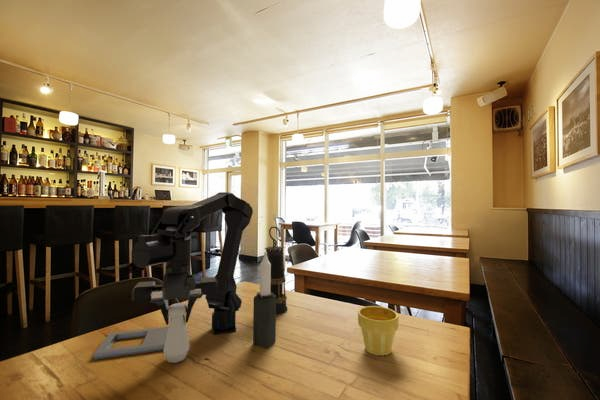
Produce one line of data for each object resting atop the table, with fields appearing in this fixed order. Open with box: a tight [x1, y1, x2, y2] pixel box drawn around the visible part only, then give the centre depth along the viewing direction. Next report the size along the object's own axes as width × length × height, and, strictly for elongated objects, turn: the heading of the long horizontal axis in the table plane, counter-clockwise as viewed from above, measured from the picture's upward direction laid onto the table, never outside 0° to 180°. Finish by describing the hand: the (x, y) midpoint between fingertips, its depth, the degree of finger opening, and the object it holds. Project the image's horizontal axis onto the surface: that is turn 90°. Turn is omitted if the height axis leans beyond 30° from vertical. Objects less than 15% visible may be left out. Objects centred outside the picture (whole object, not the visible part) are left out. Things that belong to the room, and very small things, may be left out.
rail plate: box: [93, 325, 169, 361], centre depth 76 cm, size 20×11×2 cm, turn 108°
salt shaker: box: [163, 302, 191, 364], centre depth 69 cm, size 6×6×13 cm
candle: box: [252, 251, 277, 349], centre depth 77 cm, size 5×5×25 cm
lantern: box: [264, 226, 288, 316], centre depth 101 cm, size 9×9×30 cm
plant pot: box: [357, 305, 399, 357], centre depth 74 cm, size 10×10×10 cm
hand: (177, 323), depth 69 cm, fingers closed on salt shaker, 4 cm apart
